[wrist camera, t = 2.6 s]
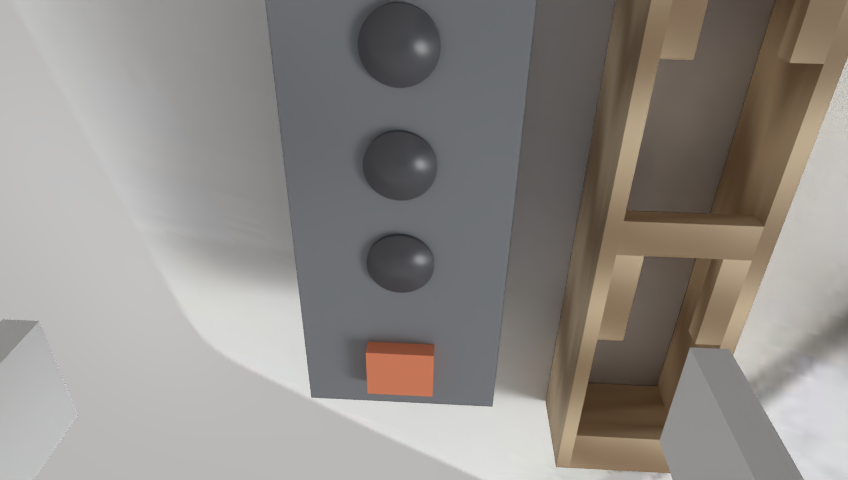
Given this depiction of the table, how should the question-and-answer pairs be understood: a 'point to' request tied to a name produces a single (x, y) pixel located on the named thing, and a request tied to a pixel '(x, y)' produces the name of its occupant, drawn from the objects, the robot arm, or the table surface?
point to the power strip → (401, 187)
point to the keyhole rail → (681, 217)
